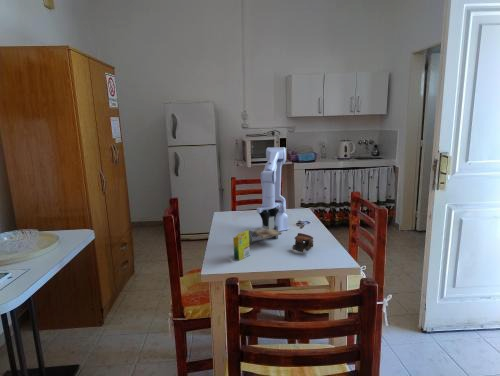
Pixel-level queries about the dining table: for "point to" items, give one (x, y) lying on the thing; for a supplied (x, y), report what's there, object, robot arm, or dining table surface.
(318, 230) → the dining table surface
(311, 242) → the brown figurine
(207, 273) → the dining table surface
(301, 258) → the dining table surface
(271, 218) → the grey rectangular block
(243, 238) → the crayon box
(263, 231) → the trapdoor
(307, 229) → the dining table surface
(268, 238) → the frame
